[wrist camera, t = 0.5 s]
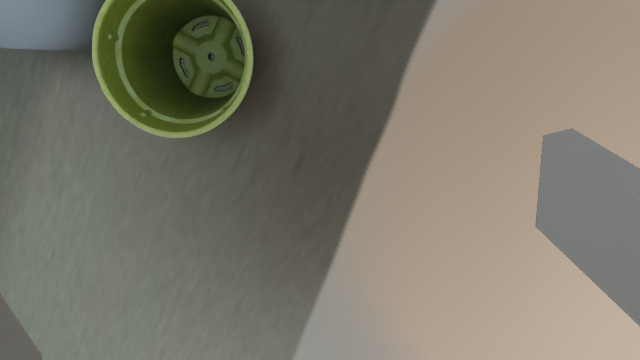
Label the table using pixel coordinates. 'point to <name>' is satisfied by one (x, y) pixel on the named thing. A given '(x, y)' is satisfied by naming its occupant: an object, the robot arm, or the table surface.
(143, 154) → the table surface
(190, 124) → the plant pot
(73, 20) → the slate jar
